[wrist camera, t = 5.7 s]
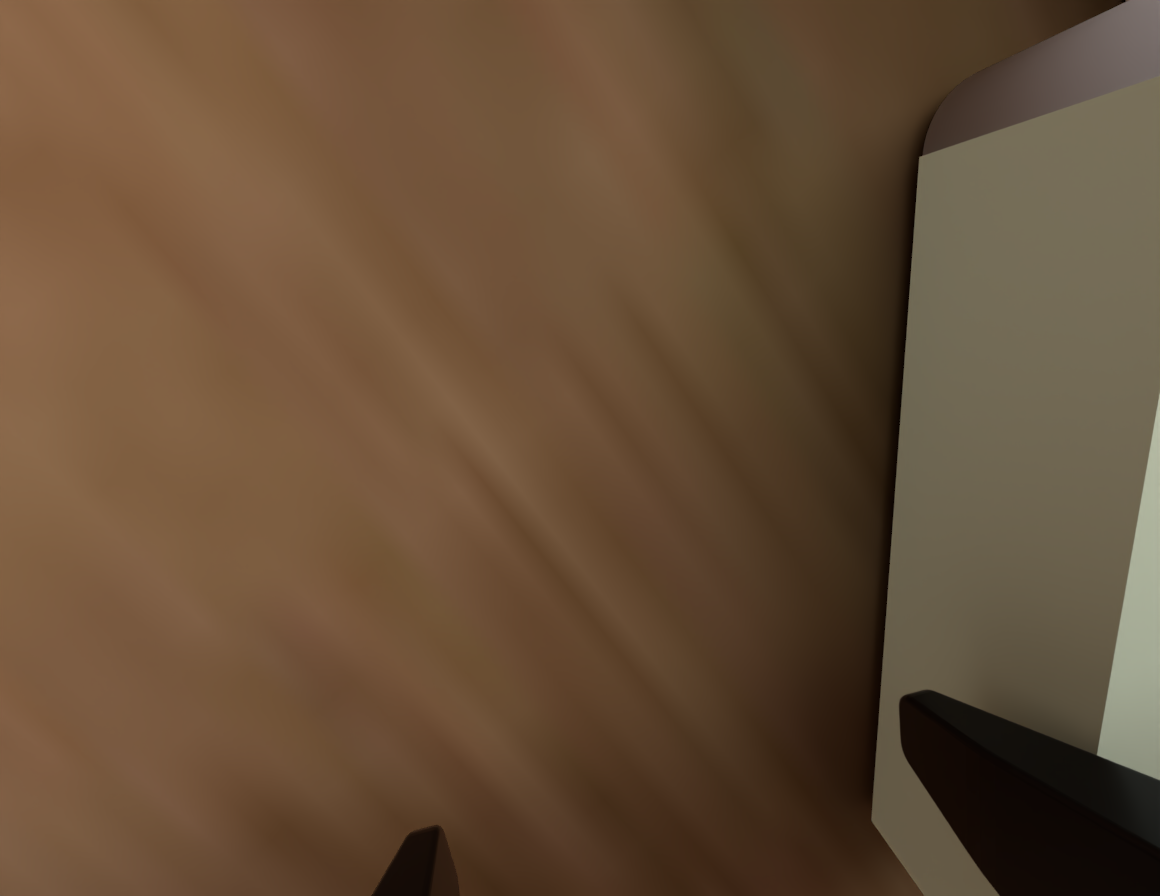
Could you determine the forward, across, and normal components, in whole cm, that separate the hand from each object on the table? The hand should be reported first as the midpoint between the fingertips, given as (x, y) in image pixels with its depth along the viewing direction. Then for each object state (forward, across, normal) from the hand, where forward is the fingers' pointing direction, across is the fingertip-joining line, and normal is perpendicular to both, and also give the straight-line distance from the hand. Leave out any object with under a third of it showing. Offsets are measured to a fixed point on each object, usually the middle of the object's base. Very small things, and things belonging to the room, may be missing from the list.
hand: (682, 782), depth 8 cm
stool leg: (+2, -6, -2) cm, 7 cm away
